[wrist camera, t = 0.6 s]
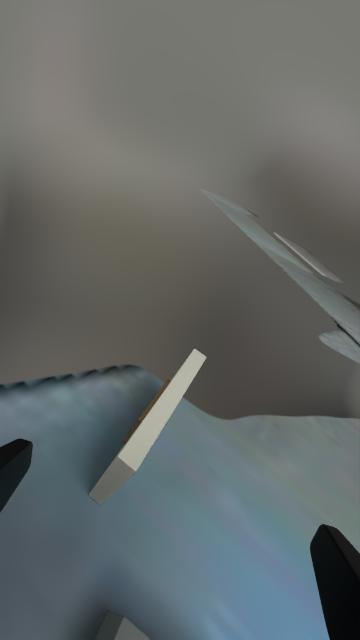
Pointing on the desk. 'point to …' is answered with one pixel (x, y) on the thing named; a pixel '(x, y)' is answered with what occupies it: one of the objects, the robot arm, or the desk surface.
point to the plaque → (146, 430)
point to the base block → (118, 629)
